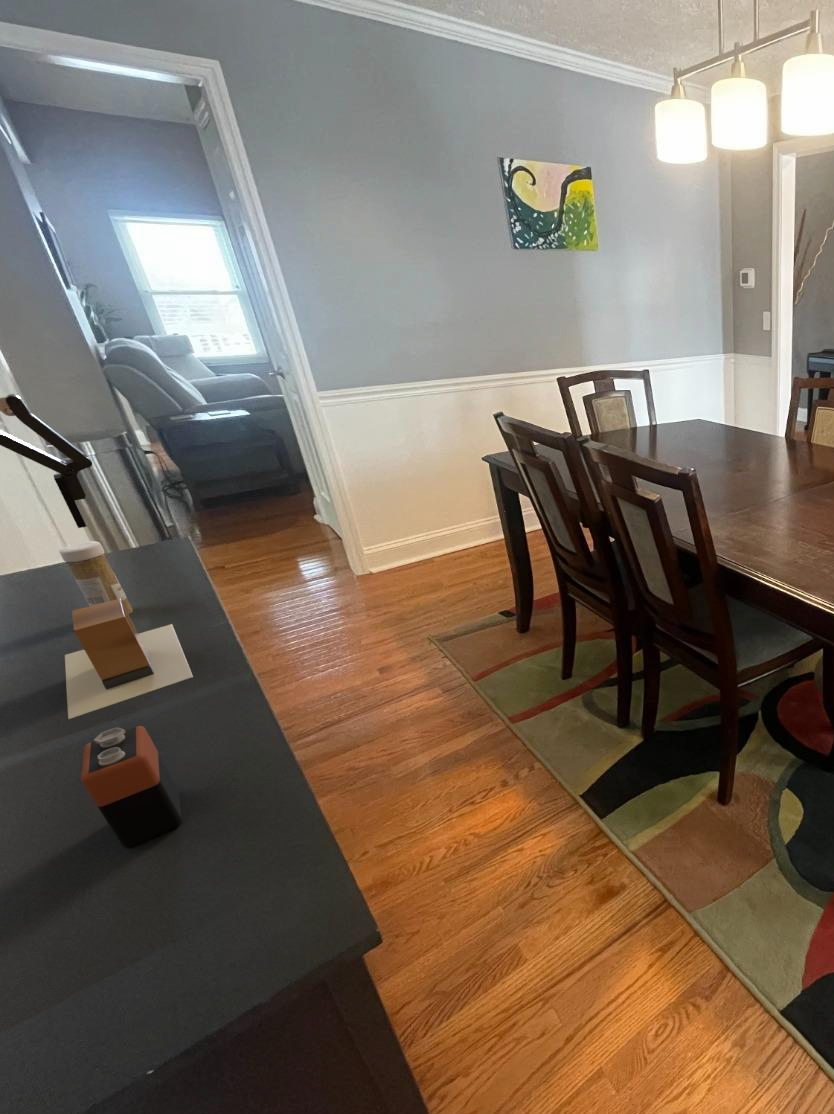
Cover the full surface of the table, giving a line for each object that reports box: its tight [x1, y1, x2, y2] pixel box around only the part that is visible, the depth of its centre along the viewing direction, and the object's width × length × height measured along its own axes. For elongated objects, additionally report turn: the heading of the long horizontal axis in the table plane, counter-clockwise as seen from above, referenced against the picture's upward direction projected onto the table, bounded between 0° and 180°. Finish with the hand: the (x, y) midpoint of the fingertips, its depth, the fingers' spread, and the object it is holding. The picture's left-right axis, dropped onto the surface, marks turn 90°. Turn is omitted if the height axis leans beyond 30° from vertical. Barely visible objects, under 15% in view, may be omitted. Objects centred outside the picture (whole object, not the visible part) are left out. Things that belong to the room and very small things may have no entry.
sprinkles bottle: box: [59, 540, 134, 615], centre depth 97 cm, size 5×5×14 cm
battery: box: [80, 725, 182, 849], centre depth 59 cm, size 4×7×10 cm, turn 44°
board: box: [64, 623, 194, 720], centre depth 85 cm, size 22×12×1 cm, turn 47°
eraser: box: [71, 599, 154, 689], centre depth 82 cm, size 9×5×9 cm, turn 47°
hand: (1, 539), depth 72 cm, fingers open, 13 cm apart
